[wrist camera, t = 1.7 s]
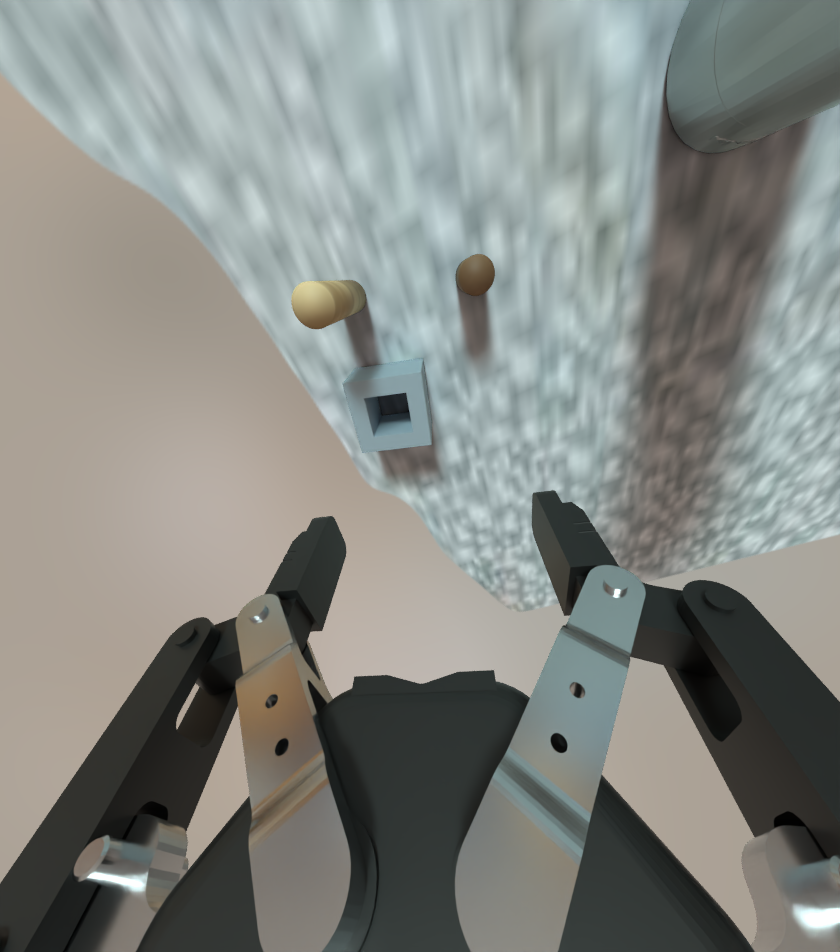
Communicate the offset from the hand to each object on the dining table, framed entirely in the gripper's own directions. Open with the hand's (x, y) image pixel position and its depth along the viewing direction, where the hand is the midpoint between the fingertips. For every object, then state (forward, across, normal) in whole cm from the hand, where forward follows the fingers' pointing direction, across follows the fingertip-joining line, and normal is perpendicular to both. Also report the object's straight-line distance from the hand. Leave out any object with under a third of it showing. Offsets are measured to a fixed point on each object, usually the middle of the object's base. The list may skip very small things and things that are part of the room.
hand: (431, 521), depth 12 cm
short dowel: (+20, -4, -8) cm, 22 cm away
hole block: (+20, +4, +1) cm, 21 cm away
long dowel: (+20, +6, -8) cm, 23 cm away
